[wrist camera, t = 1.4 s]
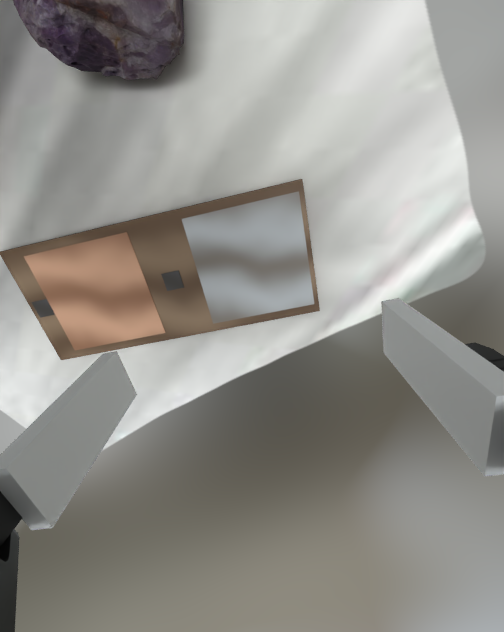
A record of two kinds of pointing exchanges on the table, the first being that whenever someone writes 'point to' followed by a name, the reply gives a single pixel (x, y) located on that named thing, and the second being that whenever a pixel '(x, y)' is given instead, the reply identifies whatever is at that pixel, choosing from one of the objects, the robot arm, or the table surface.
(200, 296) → the board
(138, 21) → the rock
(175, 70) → the table surface
